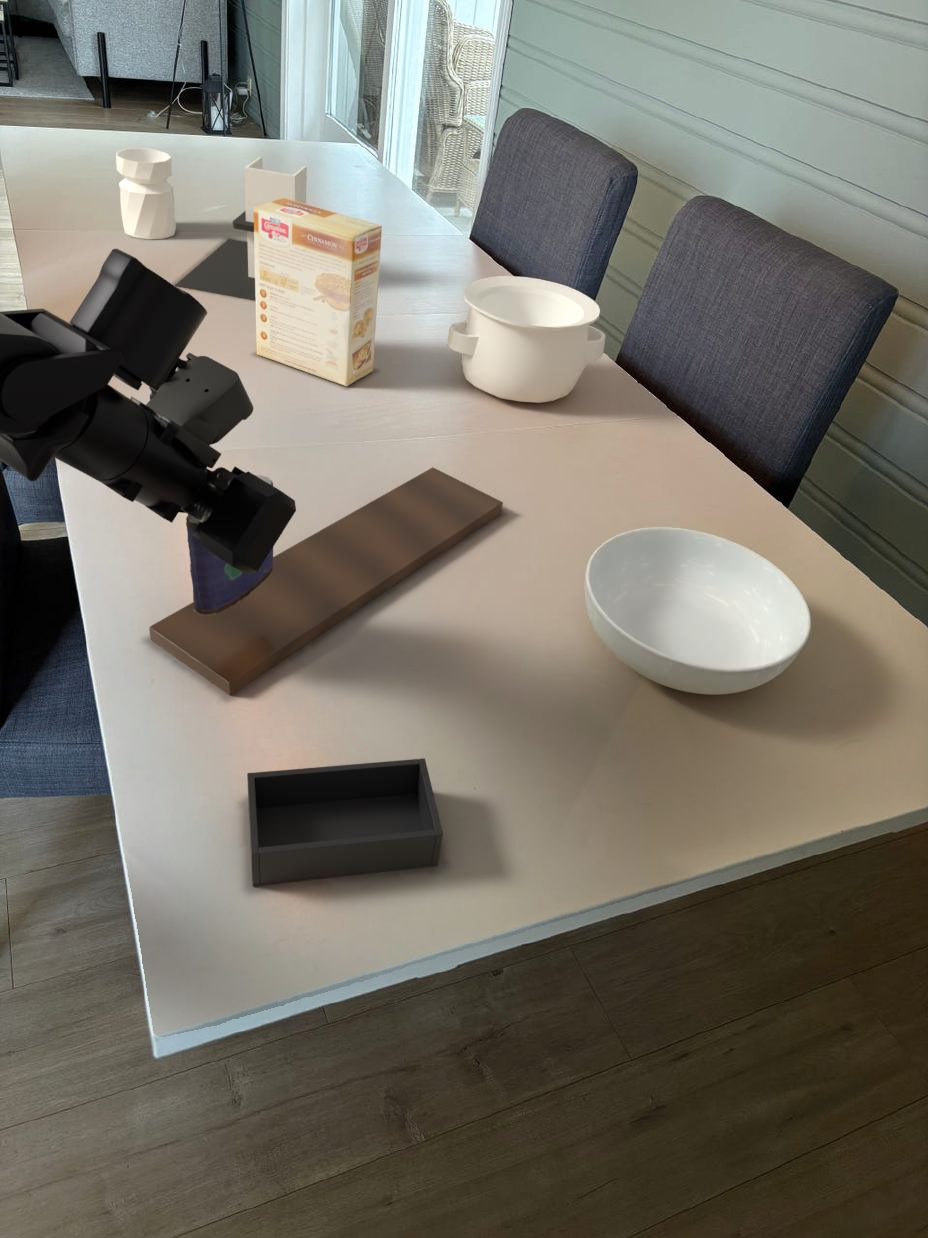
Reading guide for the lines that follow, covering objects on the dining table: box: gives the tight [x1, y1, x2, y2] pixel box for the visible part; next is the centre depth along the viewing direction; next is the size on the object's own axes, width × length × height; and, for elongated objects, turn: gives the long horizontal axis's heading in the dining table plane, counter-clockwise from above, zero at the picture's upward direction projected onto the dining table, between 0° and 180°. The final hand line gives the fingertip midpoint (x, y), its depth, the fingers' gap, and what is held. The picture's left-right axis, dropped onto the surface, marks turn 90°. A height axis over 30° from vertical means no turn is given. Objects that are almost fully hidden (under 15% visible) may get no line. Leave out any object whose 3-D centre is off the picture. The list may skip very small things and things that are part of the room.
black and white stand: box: [174, 156, 308, 301], centre depth 144 cm, size 25×24×16 cm
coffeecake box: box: [254, 198, 383, 387], centre depth 120 cm, size 15×7×20 cm, turn 63°
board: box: [148, 466, 504, 696], centre depth 91 cm, size 40×10×2 cm, turn 143°
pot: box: [446, 275, 607, 404], centre depth 124 cm, size 22×17×12 cm
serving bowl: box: [584, 526, 812, 695], centre depth 86 cm, size 21×21×7 cm
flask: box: [185, 474, 274, 616], centre depth 74 cm, size 9×3×11 cm, turn 151°
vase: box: [115, 147, 177, 240], centre depth 153 cm, size 9×9×12 cm
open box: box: [246, 757, 444, 887], centre depth 65 cm, size 13×7×4 cm, turn 102°
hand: (245, 519), depth 74 cm, fingers closed on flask, 3 cm apart
